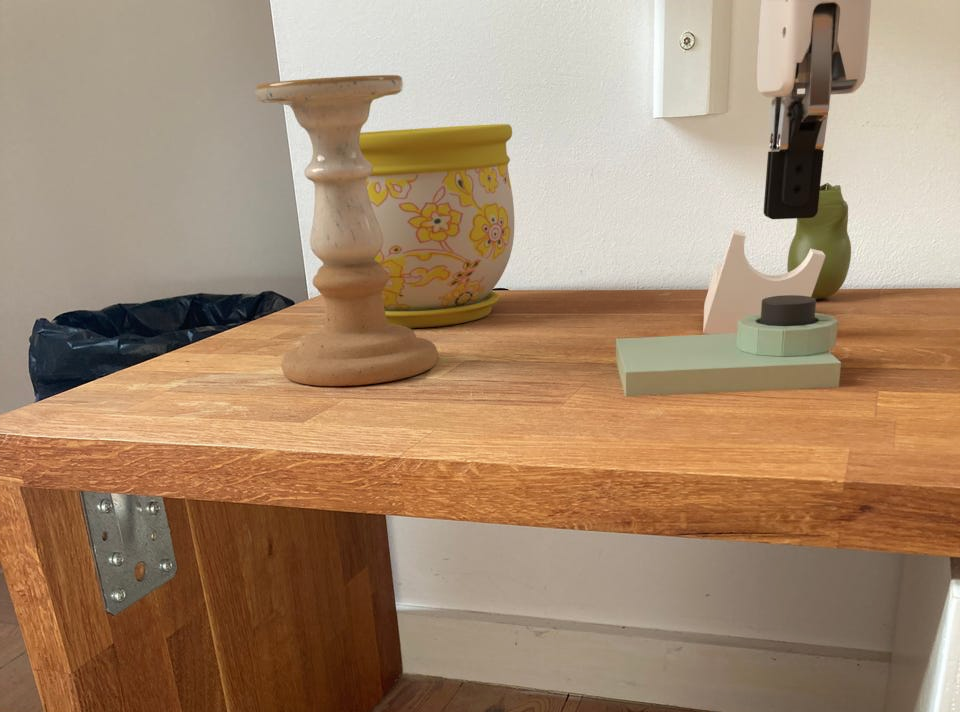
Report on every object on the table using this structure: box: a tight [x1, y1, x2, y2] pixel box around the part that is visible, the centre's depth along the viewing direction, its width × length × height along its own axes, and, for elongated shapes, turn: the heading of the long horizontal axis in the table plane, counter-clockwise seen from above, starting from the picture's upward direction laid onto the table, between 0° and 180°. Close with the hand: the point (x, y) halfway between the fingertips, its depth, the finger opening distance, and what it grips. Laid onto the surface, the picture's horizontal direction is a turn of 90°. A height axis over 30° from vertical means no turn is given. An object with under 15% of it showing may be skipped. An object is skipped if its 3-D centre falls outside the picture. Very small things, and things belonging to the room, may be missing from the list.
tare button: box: [760, 295, 817, 326], centre depth 71 cm, size 4×4×2 cm
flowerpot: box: [359, 123, 515, 329], centre depth 97 cm, size 18×18×16 cm
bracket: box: [702, 229, 825, 335], centre depth 85 cm, size 13×7×8 cm, turn 169°
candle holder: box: [254, 74, 439, 387], centre depth 77 cm, size 12×12×20 cm
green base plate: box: [615, 312, 842, 397], centre depth 72 cm, size 15×11×4 cm
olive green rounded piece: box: [786, 182, 852, 300], centre depth 95 cm, size 6×5×10 cm
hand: (789, 216), depth 68 cm, fingers closed
